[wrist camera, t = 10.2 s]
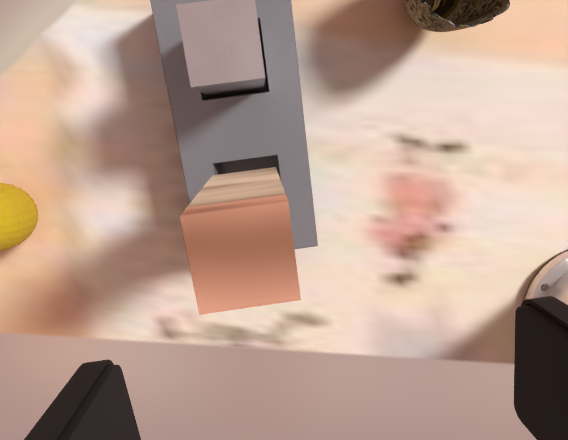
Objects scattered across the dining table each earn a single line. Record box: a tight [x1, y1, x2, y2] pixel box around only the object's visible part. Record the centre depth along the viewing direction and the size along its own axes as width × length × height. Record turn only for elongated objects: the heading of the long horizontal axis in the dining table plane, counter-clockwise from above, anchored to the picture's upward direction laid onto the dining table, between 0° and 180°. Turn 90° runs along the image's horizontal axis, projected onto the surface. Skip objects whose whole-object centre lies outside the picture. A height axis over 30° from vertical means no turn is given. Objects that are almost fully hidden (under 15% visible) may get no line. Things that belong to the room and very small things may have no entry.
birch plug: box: [179, 167, 301, 315], centre depth 22 cm, size 4×4×12 cm
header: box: [150, 0, 318, 249], centre depth 33 cm, size 21×10×5 cm, turn 7°
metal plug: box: [176, 0, 265, 98], centre depth 28 cm, size 4×4×12 cm
